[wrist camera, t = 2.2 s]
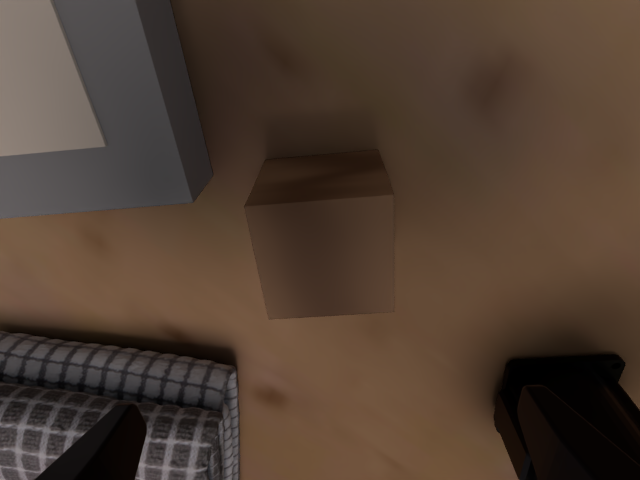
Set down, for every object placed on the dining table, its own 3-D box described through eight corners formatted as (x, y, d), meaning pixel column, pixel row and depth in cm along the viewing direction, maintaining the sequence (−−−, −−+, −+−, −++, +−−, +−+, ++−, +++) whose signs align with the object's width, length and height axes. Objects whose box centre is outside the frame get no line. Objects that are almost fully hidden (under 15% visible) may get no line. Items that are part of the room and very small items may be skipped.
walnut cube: (378, 148, 17) (393, 194, 13) (380, 246, 19) (394, 312, 15) (265, 158, 17) (244, 206, 13) (282, 253, 20) (268, 319, 16)
